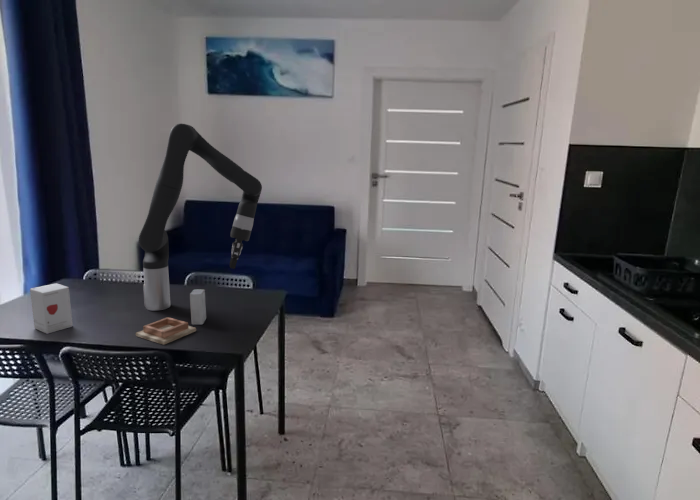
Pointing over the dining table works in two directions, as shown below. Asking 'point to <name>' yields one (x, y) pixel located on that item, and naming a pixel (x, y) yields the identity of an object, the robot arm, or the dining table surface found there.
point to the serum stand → (165, 330)
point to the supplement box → (51, 308)
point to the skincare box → (198, 306)
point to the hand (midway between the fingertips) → (231, 266)
